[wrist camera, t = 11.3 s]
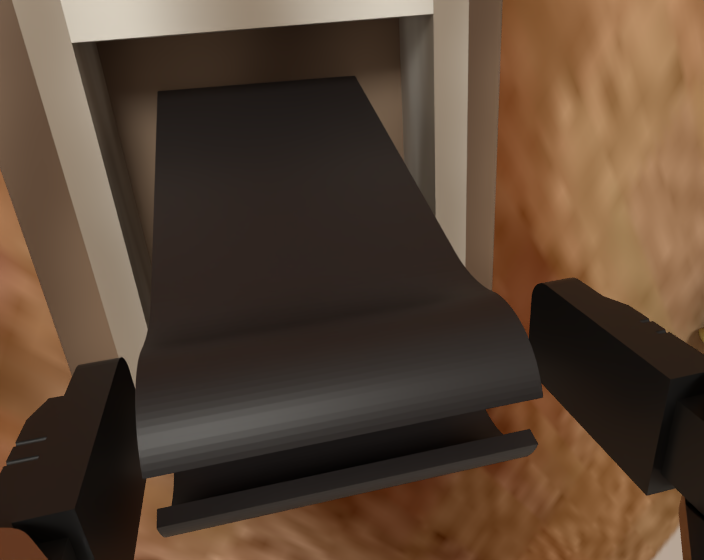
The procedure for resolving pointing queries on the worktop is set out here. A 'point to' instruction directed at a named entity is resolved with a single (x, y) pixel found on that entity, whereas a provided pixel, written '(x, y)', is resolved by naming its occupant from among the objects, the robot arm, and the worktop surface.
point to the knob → (701, 334)
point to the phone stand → (308, 312)
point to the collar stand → (210, 71)
